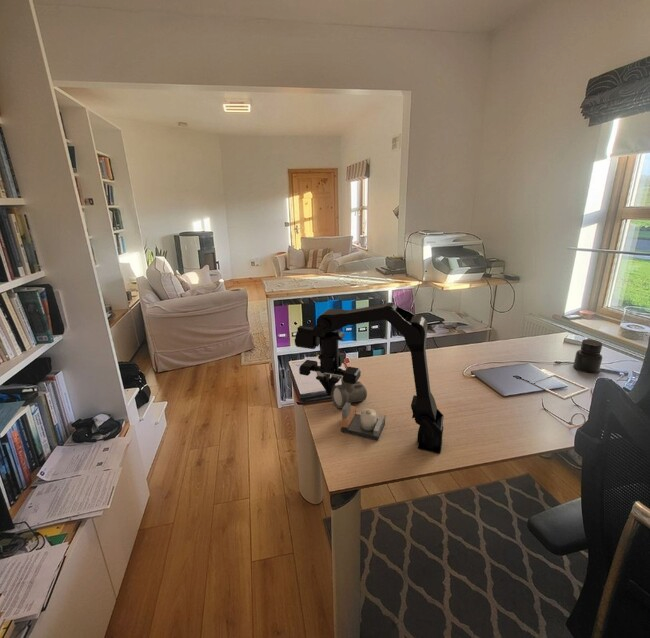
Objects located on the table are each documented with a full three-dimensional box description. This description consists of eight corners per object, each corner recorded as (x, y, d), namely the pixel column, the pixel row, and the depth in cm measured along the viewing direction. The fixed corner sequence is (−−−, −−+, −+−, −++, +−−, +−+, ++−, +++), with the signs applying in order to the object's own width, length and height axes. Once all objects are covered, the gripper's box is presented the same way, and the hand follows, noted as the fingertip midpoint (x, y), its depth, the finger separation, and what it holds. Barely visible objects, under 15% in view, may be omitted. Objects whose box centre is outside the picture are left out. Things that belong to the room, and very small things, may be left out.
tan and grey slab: (355, 414, 118) (355, 397, 116) (347, 427, 111) (347, 410, 109) (349, 412, 118) (349, 396, 116) (341, 426, 112) (341, 409, 109)
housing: (377, 422, 114) (378, 408, 112) (374, 431, 109) (374, 417, 107) (363, 419, 115) (363, 405, 114) (358, 428, 111) (358, 414, 109)
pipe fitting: (340, 412, 121) (342, 384, 119) (329, 402, 128) (331, 376, 126) (369, 406, 126) (371, 380, 124) (357, 397, 133) (359, 372, 131)
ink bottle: (589, 363, 153) (595, 337, 149) (605, 373, 144) (612, 346, 140) (567, 364, 152) (573, 338, 148) (582, 373, 144) (588, 347, 140)
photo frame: (543, 368, 148) (589, 388, 132) (542, 370, 148) (588, 390, 133) (519, 376, 142) (564, 397, 126) (519, 378, 142) (563, 400, 127)
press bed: (384, 424, 115) (385, 415, 114) (377, 440, 107) (378, 431, 106) (350, 416, 119) (350, 407, 118) (341, 431, 112) (341, 422, 111)
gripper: (366, 344, 111) (365, 388, 116) (312, 337, 118) (313, 378, 123) (355, 359, 101) (354, 405, 106) (297, 350, 108) (299, 394, 113)
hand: (330, 394), depth 112 cm, fingers closed
